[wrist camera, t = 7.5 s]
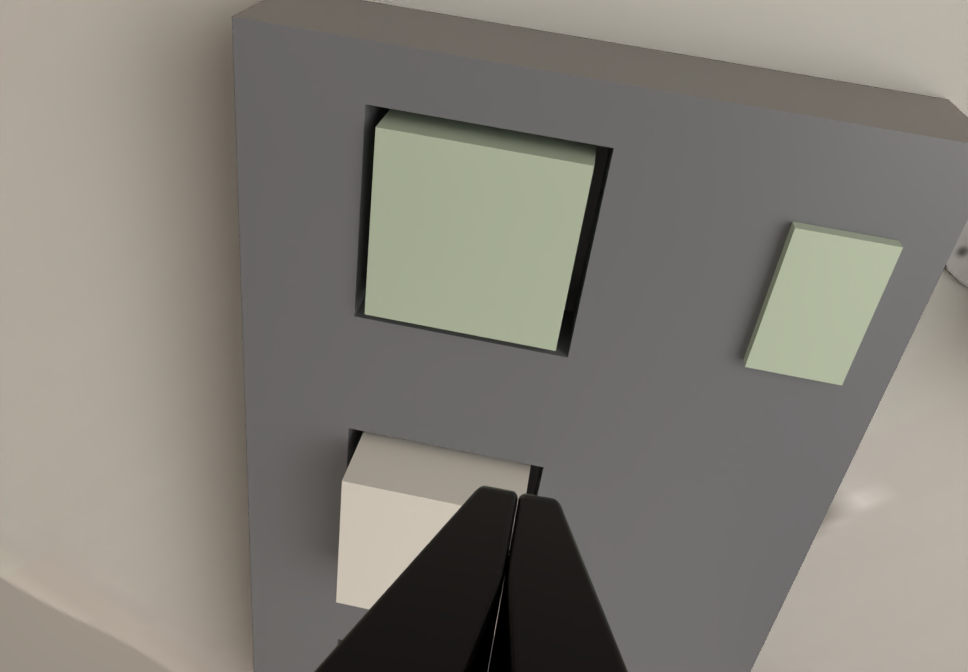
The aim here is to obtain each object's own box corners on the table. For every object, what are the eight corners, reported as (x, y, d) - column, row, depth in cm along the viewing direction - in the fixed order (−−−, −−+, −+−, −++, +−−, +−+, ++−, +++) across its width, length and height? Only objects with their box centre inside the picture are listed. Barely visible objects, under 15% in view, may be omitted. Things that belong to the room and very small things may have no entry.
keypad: (670, 745, 30) (674, 840, 27) (287, 661, 31) (252, 745, 28) (948, 99, 17) (1007, 154, 15) (288, -12, 18) (226, 19, 15)
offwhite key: (507, 576, 23) (497, 636, 21) (357, 545, 23) (336, 602, 22) (531, 460, 21) (522, 518, 19) (365, 427, 21) (342, 480, 19)
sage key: (562, 305, 20) (555, 350, 18) (387, 271, 20) (364, 314, 18) (598, 132, 17) (594, 166, 16) (400, 96, 18) (375, 127, 16)
